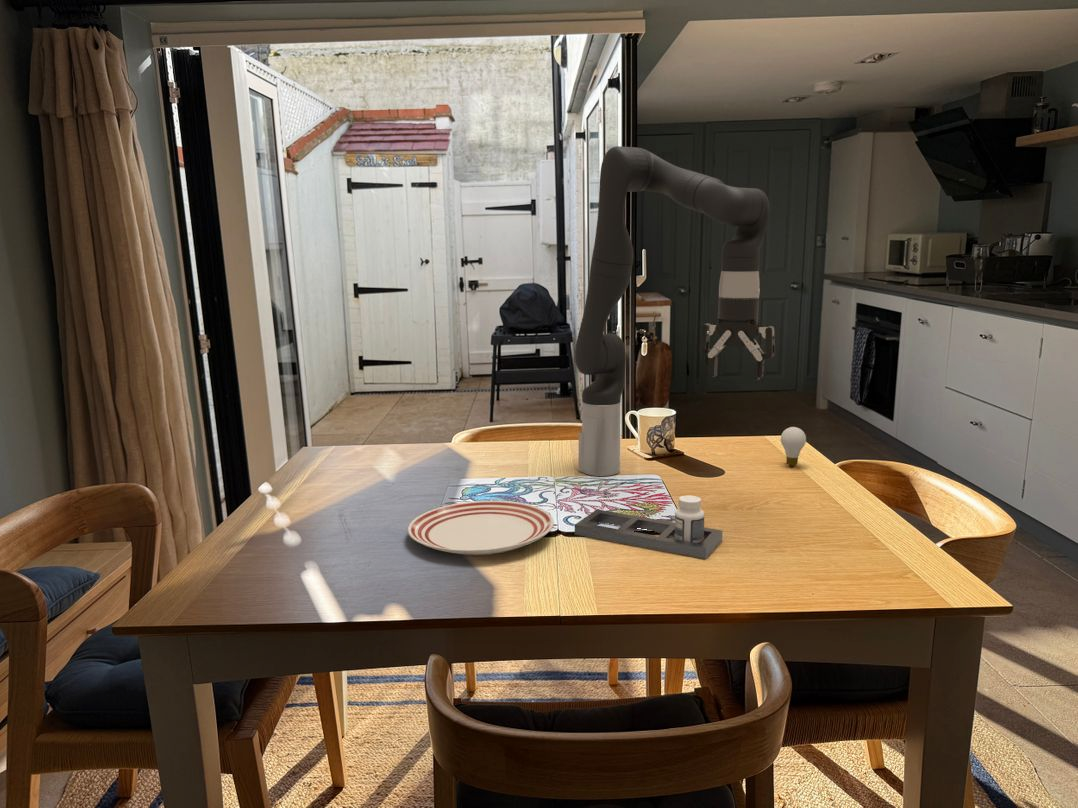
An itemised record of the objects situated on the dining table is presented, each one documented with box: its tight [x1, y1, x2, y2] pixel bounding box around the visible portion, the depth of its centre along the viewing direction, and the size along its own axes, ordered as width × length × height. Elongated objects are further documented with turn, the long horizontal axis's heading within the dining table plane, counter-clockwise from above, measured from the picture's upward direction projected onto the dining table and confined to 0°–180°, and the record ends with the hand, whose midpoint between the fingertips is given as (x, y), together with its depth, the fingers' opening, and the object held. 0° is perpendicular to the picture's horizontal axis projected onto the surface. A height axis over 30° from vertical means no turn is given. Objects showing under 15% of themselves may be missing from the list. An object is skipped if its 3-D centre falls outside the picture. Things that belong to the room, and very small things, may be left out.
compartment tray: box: [574, 509, 724, 560], centre depth 149 cm, size 26×10×2 cm, turn 61°
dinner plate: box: [407, 500, 555, 556], centre depth 150 cm, size 28×27×3 cm
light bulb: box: [780, 426, 807, 468], centre depth 193 cm, size 6×6×10 cm
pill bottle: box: [674, 495, 705, 544], centre depth 144 cm, size 5×5×9 cm
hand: (735, 378), depth 156 cm, fingers open, 8 cm apart
